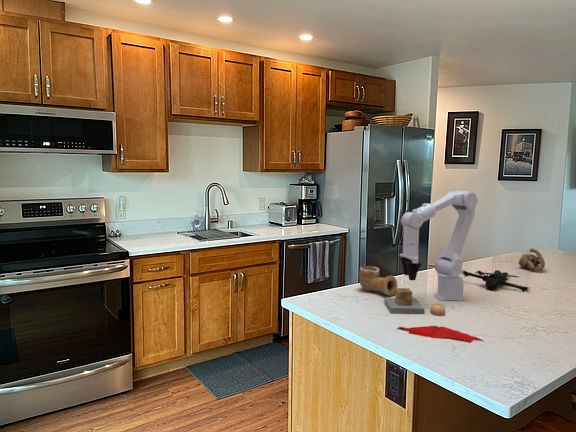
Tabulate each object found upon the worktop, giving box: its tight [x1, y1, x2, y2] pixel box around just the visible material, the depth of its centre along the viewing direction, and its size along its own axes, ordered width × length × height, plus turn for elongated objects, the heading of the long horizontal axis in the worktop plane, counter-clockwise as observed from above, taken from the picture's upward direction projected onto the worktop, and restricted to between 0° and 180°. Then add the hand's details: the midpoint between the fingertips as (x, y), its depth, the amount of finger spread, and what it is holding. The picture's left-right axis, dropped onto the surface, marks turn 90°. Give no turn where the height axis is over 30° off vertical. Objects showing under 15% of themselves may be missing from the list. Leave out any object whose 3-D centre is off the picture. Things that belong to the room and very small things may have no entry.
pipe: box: [358, 266, 398, 297], centre depth 181 cm, size 9×16×10 cm, turn 45°
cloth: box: [396, 325, 484, 343], centre depth 136 cm, size 26×14×2 cm, turn 57°
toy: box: [461, 269, 531, 293], centre depth 197 cm, size 29×7×30 cm
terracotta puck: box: [429, 303, 446, 317], centre depth 155 cm, size 5×5×3 cm
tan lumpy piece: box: [518, 248, 546, 273], centre depth 227 cm, size 13×9×15 cm
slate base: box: [383, 297, 426, 315], centre depth 160 cm, size 12×12×2 cm
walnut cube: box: [394, 287, 413, 305], centre depth 160 cm, size 5×5×5 cm
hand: (409, 277), depth 167 cm, fingers open, 7 cm apart
